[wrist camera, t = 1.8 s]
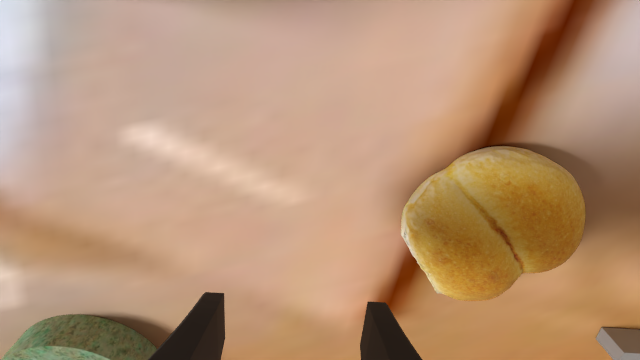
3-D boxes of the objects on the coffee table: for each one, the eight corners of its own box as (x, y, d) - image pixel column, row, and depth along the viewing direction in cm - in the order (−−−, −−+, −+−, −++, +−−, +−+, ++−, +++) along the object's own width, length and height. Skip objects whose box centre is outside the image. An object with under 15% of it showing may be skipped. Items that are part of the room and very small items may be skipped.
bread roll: (582, 225, 22) (635, 269, 18) (440, 293, 24) (463, 345, 20) (531, 106, 19) (582, 131, 15) (374, 195, 21) (387, 236, 17)
